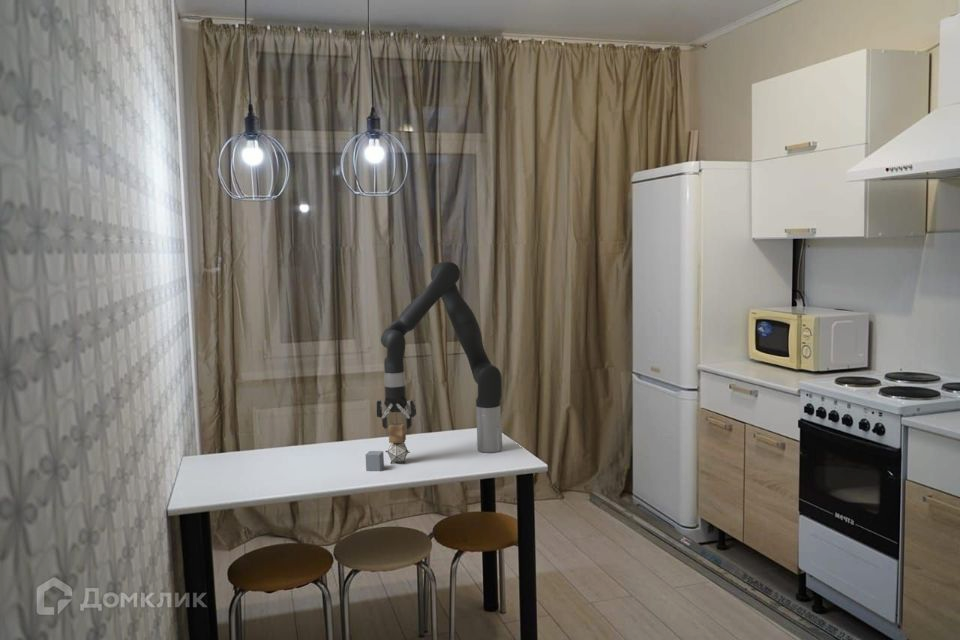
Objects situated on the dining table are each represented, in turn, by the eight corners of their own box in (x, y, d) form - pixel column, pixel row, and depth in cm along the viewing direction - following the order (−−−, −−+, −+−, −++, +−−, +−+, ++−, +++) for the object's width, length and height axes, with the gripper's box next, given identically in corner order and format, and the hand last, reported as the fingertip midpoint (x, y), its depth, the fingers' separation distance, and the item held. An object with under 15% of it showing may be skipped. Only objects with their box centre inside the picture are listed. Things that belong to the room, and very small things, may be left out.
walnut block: (405, 439, 278) (405, 423, 278) (402, 442, 273) (401, 426, 273) (392, 439, 279) (392, 423, 278) (389, 442, 274) (388, 426, 273)
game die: (402, 471, 279) (416, 447, 281) (399, 469, 270) (414, 444, 273) (382, 458, 280) (396, 435, 282) (378, 456, 272) (393, 432, 274)
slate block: (384, 467, 271) (383, 451, 270) (379, 471, 266) (379, 454, 265) (370, 467, 272) (369, 450, 271) (366, 471, 267) (365, 454, 266)
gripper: (416, 382, 277) (418, 425, 278) (379, 382, 279) (381, 425, 280) (411, 386, 269) (413, 430, 271) (373, 386, 272) (375, 430, 273)
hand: (397, 428), depth 276 cm, fingers open, 8 cm apart
